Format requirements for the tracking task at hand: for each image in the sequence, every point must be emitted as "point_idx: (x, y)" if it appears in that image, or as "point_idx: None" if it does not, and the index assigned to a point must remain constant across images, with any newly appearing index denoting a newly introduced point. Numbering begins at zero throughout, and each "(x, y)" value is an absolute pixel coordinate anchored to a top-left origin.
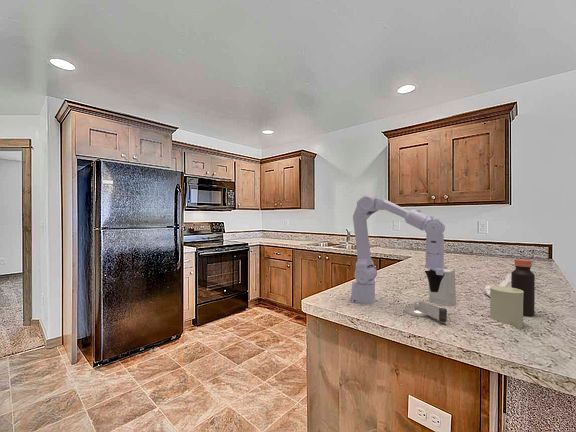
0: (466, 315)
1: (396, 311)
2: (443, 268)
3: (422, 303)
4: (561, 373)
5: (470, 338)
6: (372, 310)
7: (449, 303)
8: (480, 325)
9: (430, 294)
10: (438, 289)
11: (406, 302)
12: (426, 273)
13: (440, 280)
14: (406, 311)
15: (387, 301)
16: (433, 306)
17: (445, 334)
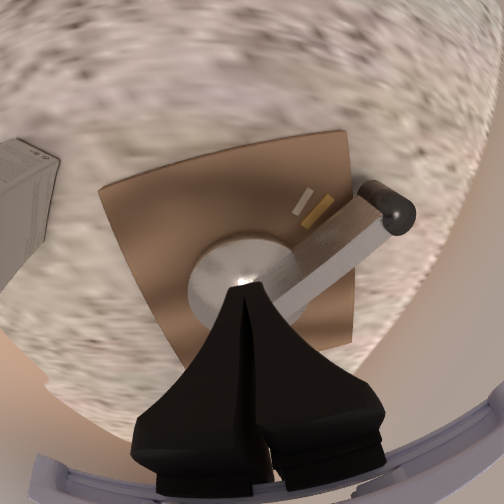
0: (106, 76)
1: None
2: (456, 480)
3: (298, 306)
4: (498, 10)
5: (424, 108)
6: None
7: (40, 164)
8: (246, 21)
9: (20, 264)
10: (266, 293)
11: (84, 318)
12: (271, 470)
13: (317, 354)
14: None
15: (124, 366)
16: (349, 259)
17: (416, 185)
